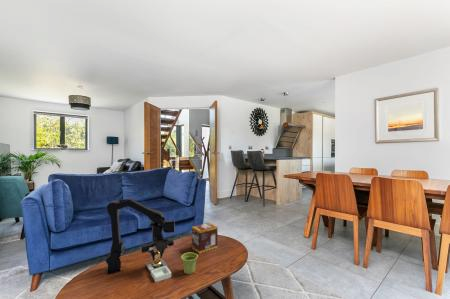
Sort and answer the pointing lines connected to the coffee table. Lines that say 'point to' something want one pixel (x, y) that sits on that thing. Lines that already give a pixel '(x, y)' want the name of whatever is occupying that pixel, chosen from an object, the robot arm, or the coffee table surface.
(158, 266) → the brass plunger
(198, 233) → the supplement box
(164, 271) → the trough
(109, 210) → the robot arm
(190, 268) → the plant pot
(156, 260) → the copper cell
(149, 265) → the grey square tray
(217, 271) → the coffee table surface
